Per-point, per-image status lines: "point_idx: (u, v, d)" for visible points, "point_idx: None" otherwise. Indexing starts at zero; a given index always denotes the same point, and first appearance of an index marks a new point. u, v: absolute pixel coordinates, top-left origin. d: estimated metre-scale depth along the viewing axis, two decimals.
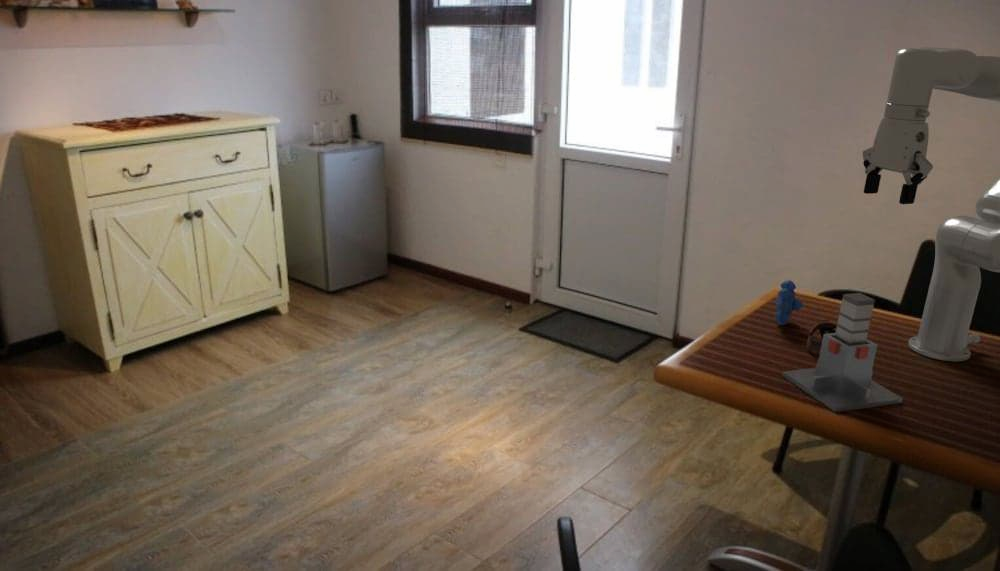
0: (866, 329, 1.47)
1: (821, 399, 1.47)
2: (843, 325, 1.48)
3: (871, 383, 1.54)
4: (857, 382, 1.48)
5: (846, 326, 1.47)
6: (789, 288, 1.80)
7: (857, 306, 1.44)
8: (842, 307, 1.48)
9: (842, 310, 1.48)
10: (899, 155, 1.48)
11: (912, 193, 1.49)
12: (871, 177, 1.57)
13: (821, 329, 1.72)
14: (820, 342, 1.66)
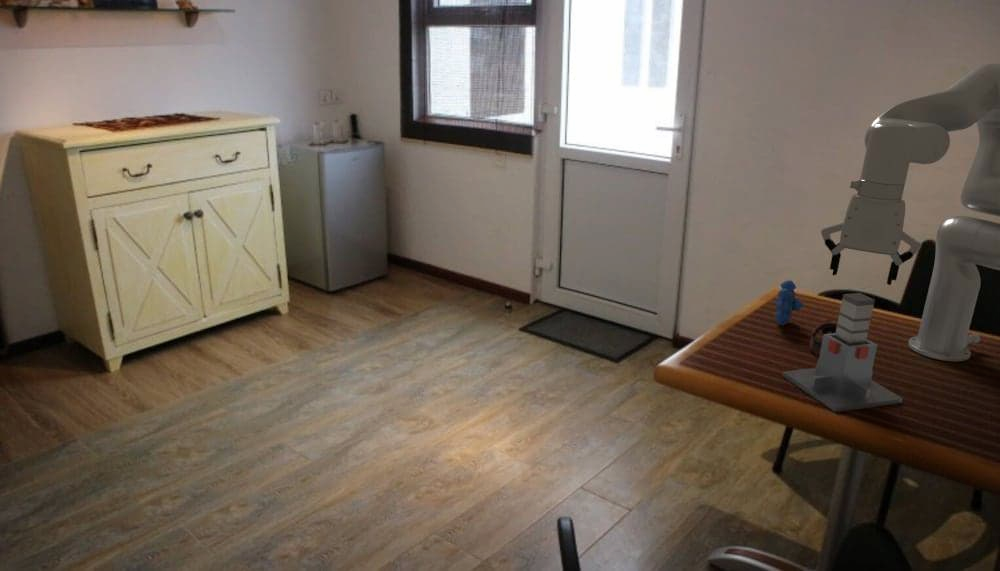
0: (866, 329, 1.47)
1: (821, 399, 1.47)
2: (843, 325, 1.48)
3: (871, 383, 1.54)
4: (857, 382, 1.48)
5: (846, 326, 1.47)
6: (789, 288, 1.80)
7: (857, 306, 1.44)
8: (842, 307, 1.48)
9: (842, 310, 1.48)
10: None
11: (831, 261, 1.47)
12: None
13: (823, 329, 1.72)
14: None
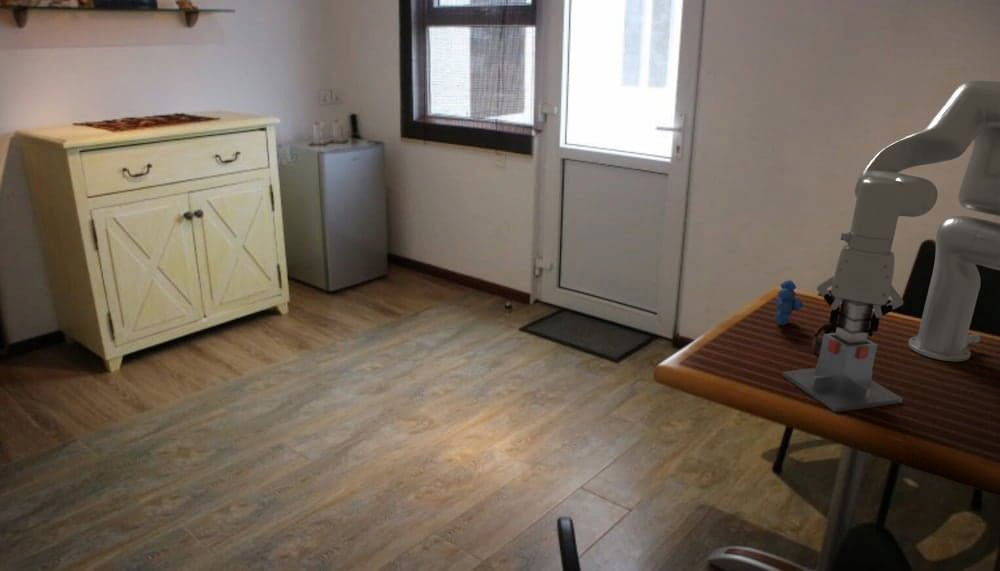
0: (866, 329, 1.47)
1: (821, 399, 1.47)
2: (843, 325, 1.48)
3: (871, 383, 1.54)
4: (857, 382, 1.48)
5: (846, 326, 1.47)
6: (789, 288, 1.80)
7: (857, 306, 1.44)
8: (842, 307, 1.48)
9: (842, 310, 1.48)
10: None
11: None
12: None
13: (826, 330, 1.72)
14: None
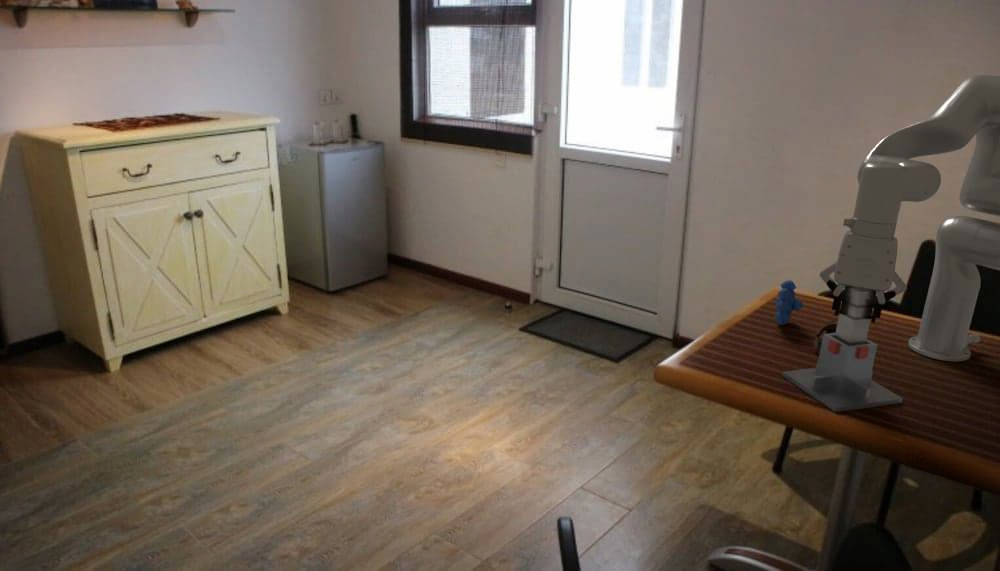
0: (869, 315, 1.46)
1: (821, 399, 1.47)
2: (846, 312, 1.47)
3: (871, 383, 1.54)
4: (857, 382, 1.48)
5: (849, 312, 1.46)
6: (789, 288, 1.80)
7: (860, 292, 1.44)
8: (845, 293, 1.47)
9: (845, 296, 1.47)
10: None
11: (833, 302, 1.49)
12: None
13: (827, 330, 1.72)
14: None
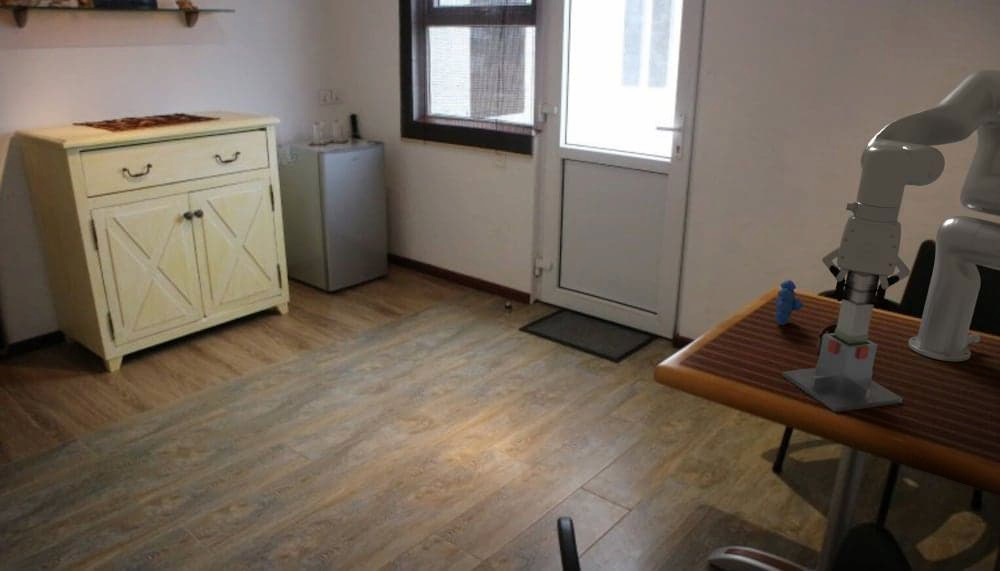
0: (872, 301, 1.45)
1: (821, 399, 1.47)
2: (849, 297, 1.46)
3: (871, 383, 1.54)
4: (857, 382, 1.48)
5: (852, 298, 1.45)
6: (789, 288, 1.80)
7: (863, 277, 1.43)
8: (848, 279, 1.46)
9: (848, 282, 1.46)
10: None
11: None
12: (878, 287, 1.45)
13: (830, 330, 1.71)
14: None
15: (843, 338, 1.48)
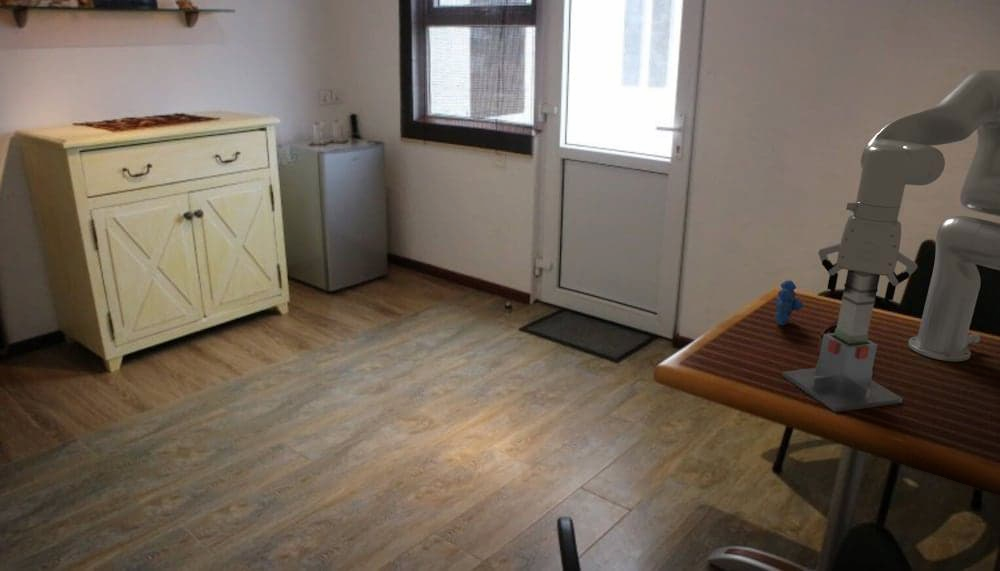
0: (872, 301, 1.45)
1: (821, 399, 1.47)
2: (849, 297, 1.46)
3: (871, 383, 1.54)
4: (857, 382, 1.48)
5: (852, 298, 1.45)
6: (789, 288, 1.80)
7: (863, 277, 1.43)
8: (848, 279, 1.46)
9: (848, 282, 1.46)
10: None
11: None
12: None
13: (832, 331, 1.71)
14: None
15: (843, 338, 1.48)
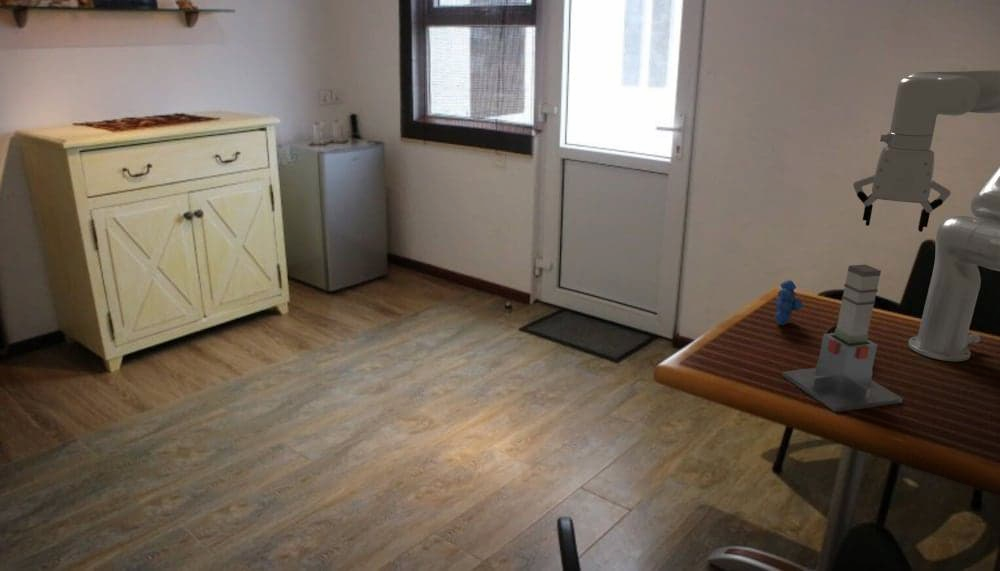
0: (872, 301, 1.45)
1: (821, 399, 1.47)
2: (849, 297, 1.46)
3: (871, 383, 1.54)
4: (857, 382, 1.48)
5: (852, 298, 1.45)
6: (789, 288, 1.80)
7: (863, 277, 1.43)
8: (848, 279, 1.46)
9: (848, 282, 1.46)
10: None
11: None
12: (921, 211, 1.50)
13: (834, 331, 1.71)
14: None
15: (843, 338, 1.48)
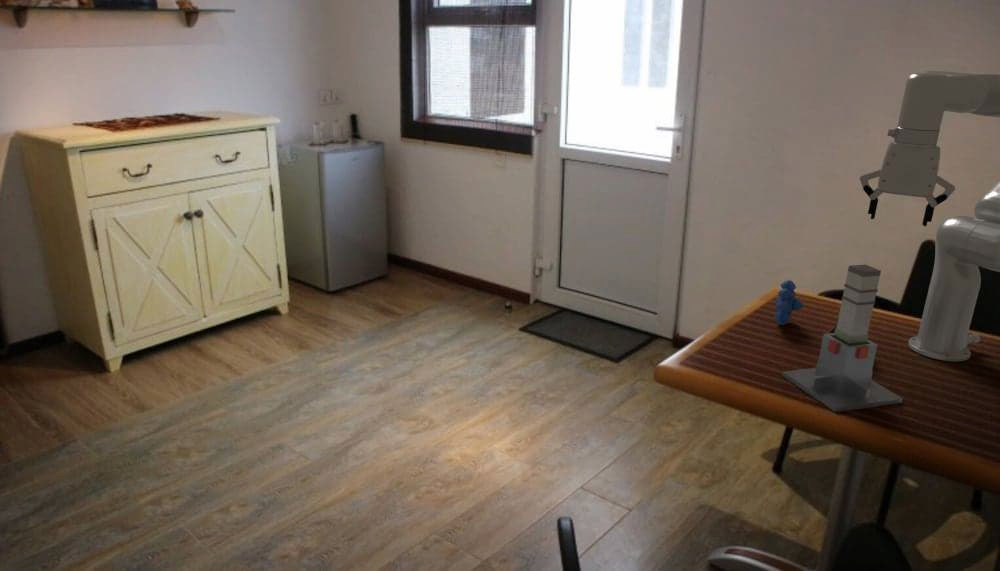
0: (872, 301, 1.45)
1: (821, 399, 1.47)
2: (849, 297, 1.46)
3: (871, 383, 1.54)
4: (857, 382, 1.48)
5: (852, 298, 1.45)
6: (789, 288, 1.80)
7: (863, 277, 1.43)
8: (848, 279, 1.46)
9: (848, 282, 1.46)
10: None
11: (869, 206, 1.57)
12: (926, 206, 1.53)
13: None
14: None
15: (843, 338, 1.48)
